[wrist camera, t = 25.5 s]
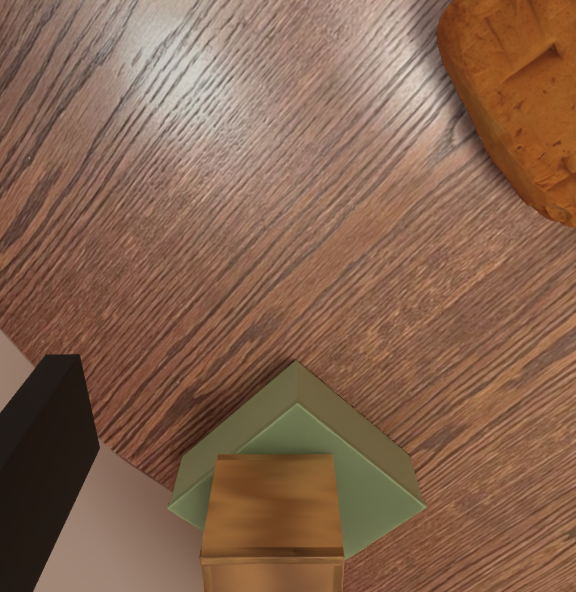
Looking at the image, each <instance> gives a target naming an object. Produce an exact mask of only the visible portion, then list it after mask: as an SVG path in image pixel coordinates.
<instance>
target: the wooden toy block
mask: <svg viewBox="0 0 576 592" xmlns="http://www.w3.org/2000/svg"><path fill="white" fill-rule="evenodd" d="M199 558H200V567H201V576H202V585H203V592H342V590H343V575H344V559H345V556H344V547H343V538H342V529H341V520H340V511H339V502H338V494H337V485H336V476H335V467H334V458H333V454H217V458H216V464H215V470H214V476H213V482H212V487H211V493H210V499H209V505H208V511H207V516H206V522H205V528H204V534H203V540H202V545H201V551H200V557H199Z"/></svg>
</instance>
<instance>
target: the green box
mask: <svg viewBox="0 0 576 592" xmlns="http://www.w3.org/2000/svg"><path fill="white" fill-rule="evenodd" d="M217 454H333V458H334V467H335V476H336V485H337V494H338V502H339V511H340V520H341V529H342V538H343V547H344V556H345V559H344V561H345V560H347V559H348V558H350V557H351V556H353V555H354V554H356V553H357V552H359V551H360V550H362V549H364V548H365V547H367V546H368V545H370V544H371V543H373V542H374V541H376V540H377V539H379V538H381V537H382V536H384V535H385V534H387V533H388V532H390V531H391V530H393V529H394V528H396V527H397V526H399V525H401V524H402V523H404V522H405V521H407V520H408V519H410V518H411V517H413V516H414V515H416V514H417V513H419V512H421V511H422V510H424V509H425V508H427V506H426V503H425V501H424V500H423V498H422V495H421V492H420V488H419V485H418V482H417V478H416V475H415V472H414V468H413V465H412V462H411V458H410V455H408V454H407V453H406V452H405V451H404V450H403V449H401V448H400V447H399V446H398V445H397V444H395V443H394V442H393V441H392V440H391V439H389V438H388V437H387V436H386V435H385V434H383V433H382V432H381V431H380V430H379V429H378V428H376V427H375V426H374V425H373V424H372V423H370V422H369V421H368V420H367V419H366V418H364V417H363V416H362V415H361V414H360V413H359V412H357V411H356V410H355V409H354V408H353V407H351V406H350V405H349V404H348V403H347V402H345V401H344V400H343V399H342V398H341V397H339V396H338V395H337V394H336V393H335V392H334V391H332V390H331V389H330V388H329V387H328V386H326V385H325V384H324V383H323V382H322V381H320V380H319V379H318V378H317V377H316V376H314V375H313V374H312V373H311V372H310V371H309V370H307V369H306V368H305V367H304V366H303V365H301V364H300V363H299V362H298V361H297V360H296V361H294V362H293V363H292V364H291V365H290V366H288V367H287V368H286V369H285V370H284V371H283V372H281V373H280V374H279V375H278V376H277V377H275V378H274V379H273V380H272V381H271V382H270V383H268V384H267V385H266V386H265V387H264V388H263V389H261V390H260V391H259V392H258V393H257V394H255V395H254V396H253V397H252V398H251V399H250V400H248V401H247V402H246V403H245V404H244V405H242V406H241V407H240V408H239V409H238V410H237V411H235V412H234V413H233V414H232V415H231V416H230V417H228V418H227V419H226V420H225V421H224V422H222V423H221V424H220V425H219V426H218V427H217V428H215V429H214V430H213V431H212V432H211V433H209V434H208V435H207V436H206V437H205V438H204V439H202V440H201V441H200V442H199V443H198V444H197V445H195V446H194V447H193V448H192V449H191V450H189V451H188V452H187V453H186V454H185V455H184V456H182V459H181V463H180V467H179V471H178V475H177V479H176V483H175V487H174V491H173V495H172V499H171V501H170V502H169V503H168V507H167V509H169V510H170V511H172V512H173V513H175V514H176V515H178V516H180V517H181V518H183V519H184V520H186V521H187V522H189V523H191V524H192V525H193V526H195V527H197V528H198V529H200V530H201V531H203V532H204V528H205V522H206V516H207V511H208V505H209V499H210V493H211V487H212V482H213V476H214V470H215V464H216V458H217Z"/></svg>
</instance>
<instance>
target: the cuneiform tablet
mask: <svg viewBox="0 0 576 592" xmlns="http://www.w3.org/2000/svg"><path fill="white" fill-rule="evenodd" d="M436 35H437V44H438V48H439V51H440V55H441V58H442V62H443V65H444V67H445V69H446V71H447V73H448V75H449V77H450V79H451V81H452V82H453V85H454V87H455V89H456V91H457V93H458V95H459V97H460V99H461V101H462V103H463V104H464V105H465V106H466V109H467V111H468V113H469V115H470V117H471V119H472V121H473V124H474V126H475V129H476V131H477V134H478V135H479V136H480V137H481V140H482V144H483V146H484V148H485V149H486V151H487V152H488V154H489V156H490V158H491V159H492V161H493V163H494V164H495V165H496V166H497V167H498V168H499V169H500V170H501V171H502V172H503V173H504V175H505V176H506V178H507V180H508V181H509V183H510V184H511V185H512V187H513V188H514V190H515V191H516V192H517V194H518V195H519V196H520V198H521V199H522V200H523V201H524V202H525V203H526V204H527V205H529V206H532V207H533V208H534V209H535V210H536V211H538V212H539V213H540V214H541V215H543V216H544V217H546V218H547V219H549V220H551V221H557V222H560V223H562V224H563V225H564V226H568V227H573V228H576V0H453V1H452V2H451V3H450V4H449V5H448V7H447V8H446V9H445V10H444V12H443V14H442V16H441V17H440V21H439V24H438V28H437V32H436Z"/></svg>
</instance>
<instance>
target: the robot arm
mask: <svg viewBox="0 0 576 592" xmlns="http://www.w3.org/2000/svg"><path fill="white" fill-rule="evenodd" d="M99 449H100V446H99V441H98V437H97V432H96V427H95V423H94V418H93V414H92V409H91V404H90V400H89V395H88V390H87V386H86V381H85V377H84V372H83V367H82V363H81V358H80V354H69V355H45V356H44V358H43V359H42V360H41V362H40V363H39V364H38V365H37V367H36V368H35V369H34V371H33V372H32V373H31V374H30V376H29V377H28V378H27V380H26V381H25V382H24V383H23V385H22V386H21V387H20V389H19V390H18V391H17V392H16V393H15V395H14V396H13V397H12V399H11V400H10V401H9V403H8V404H7V405H6V407H5V408H4V409H3V410H2V411H1V413H0V592H33V590H34V588H35V586H36V584H37V582H38V580H39V577H40V575H41V573H42V571H43V569H44V567H45V565H46V562H47V561H48V558H49V556H50V554H51V552H52V550H53V548H54V545H55V543H56V541H57V539H58V537H59V535H60V533H61V530H62V528H63V526H64V524H65V522H66V520H67V518H68V516H69V513H70V511H71V509H72V507H73V505H74V502H75V501H76V498H77V496H78V494H79V492H80V490H81V487H82V486H83V483H84V481H85V479H86V477H87V475H88V473H89V471H90V468H91V466H92V464H93V462H94V460H95V458H96V456H97V453H98V451H99Z"/></svg>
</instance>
